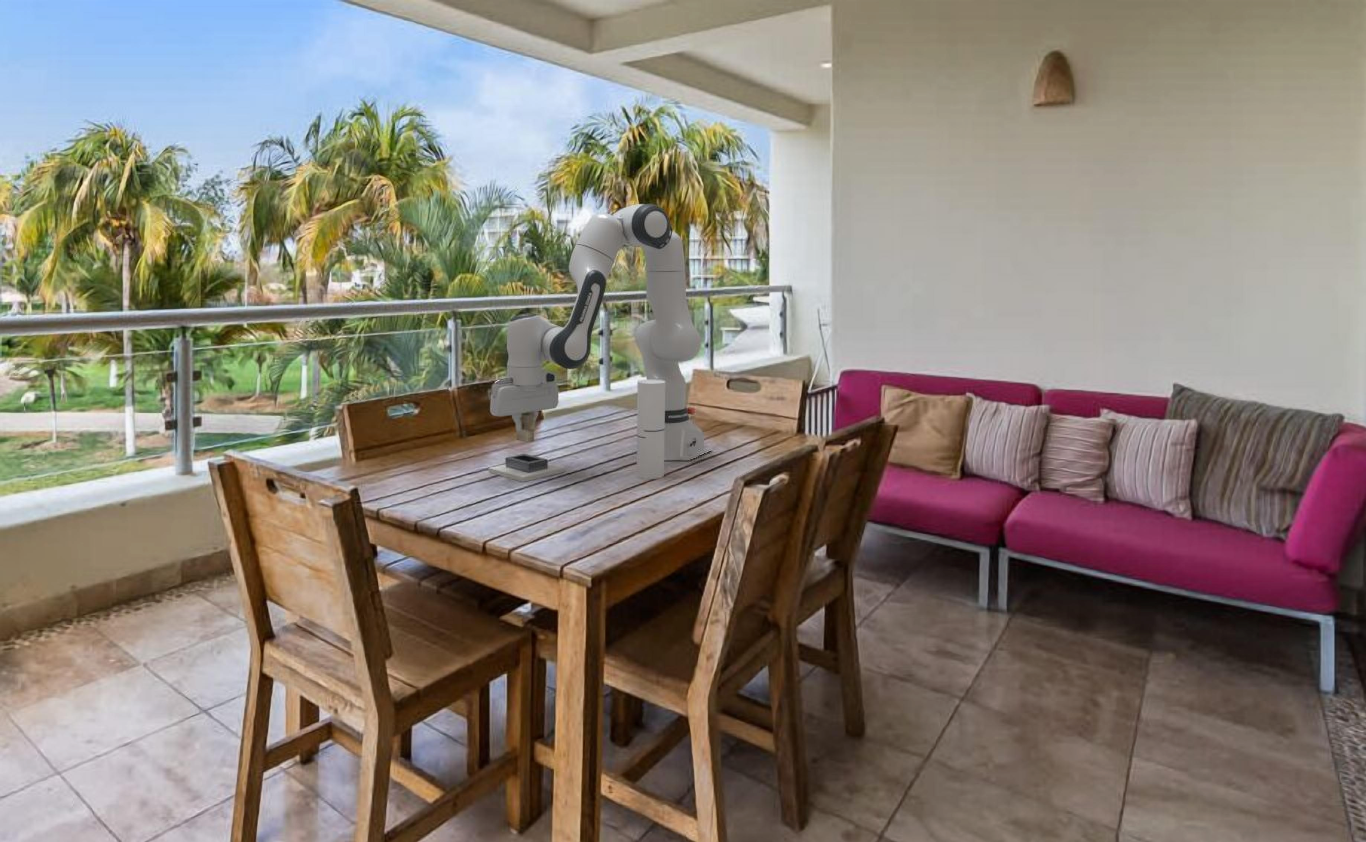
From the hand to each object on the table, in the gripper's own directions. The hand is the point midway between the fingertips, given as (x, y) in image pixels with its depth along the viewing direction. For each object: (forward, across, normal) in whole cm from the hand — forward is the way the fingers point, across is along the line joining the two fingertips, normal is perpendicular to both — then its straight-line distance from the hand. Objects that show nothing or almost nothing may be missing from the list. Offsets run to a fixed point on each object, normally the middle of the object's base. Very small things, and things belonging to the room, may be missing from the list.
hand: (525, 429), depth 213 cm
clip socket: (+10, 0, 0) cm, 10 cm away
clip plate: (+12, 0, 0) cm, 12 cm away
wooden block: (+3, 0, 0) cm, 3 cm away
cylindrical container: (+12, +20, -26) cm, 35 cm away
